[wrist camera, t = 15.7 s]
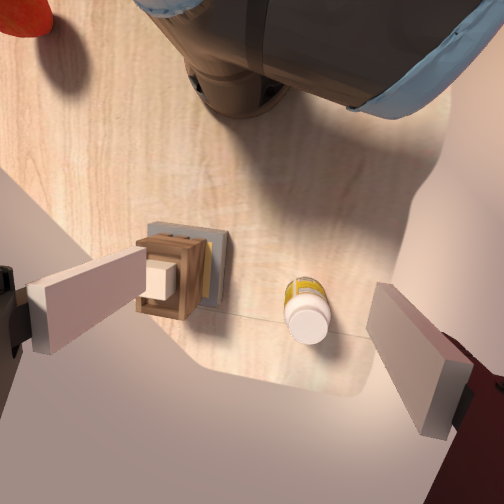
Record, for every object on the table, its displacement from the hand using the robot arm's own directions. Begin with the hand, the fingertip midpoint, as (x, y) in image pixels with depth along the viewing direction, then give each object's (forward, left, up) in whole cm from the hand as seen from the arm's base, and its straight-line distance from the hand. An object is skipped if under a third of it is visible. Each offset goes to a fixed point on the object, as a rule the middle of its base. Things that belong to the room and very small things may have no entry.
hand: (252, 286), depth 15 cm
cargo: (+7, -14, -18) cm, 24 cm away
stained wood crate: (+8, -14, -24) cm, 29 cm away
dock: (+8, -14, -27) cm, 31 cm away
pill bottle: (+10, +5, -27) cm, 29 cm away
